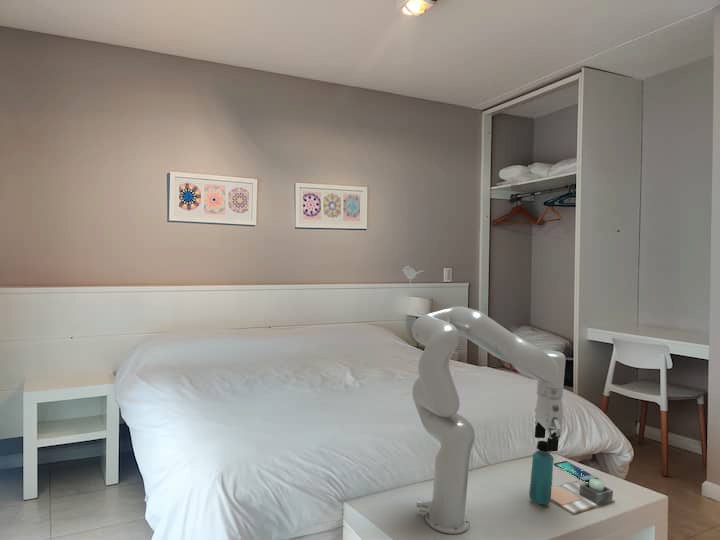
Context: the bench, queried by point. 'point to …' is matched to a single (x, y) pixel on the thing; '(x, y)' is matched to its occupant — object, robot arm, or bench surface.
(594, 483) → the button
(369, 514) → the bench surface
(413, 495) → the bench surface
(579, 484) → the wooden tray
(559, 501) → the terracotta square
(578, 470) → the smartphone
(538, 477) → the beverage bottle
